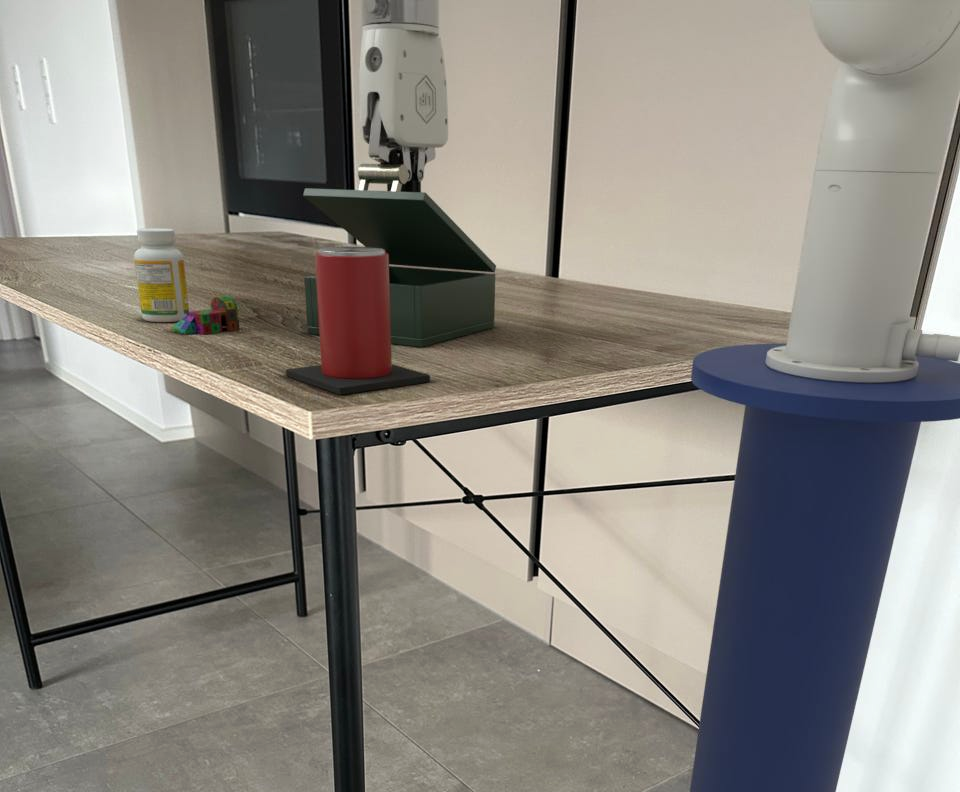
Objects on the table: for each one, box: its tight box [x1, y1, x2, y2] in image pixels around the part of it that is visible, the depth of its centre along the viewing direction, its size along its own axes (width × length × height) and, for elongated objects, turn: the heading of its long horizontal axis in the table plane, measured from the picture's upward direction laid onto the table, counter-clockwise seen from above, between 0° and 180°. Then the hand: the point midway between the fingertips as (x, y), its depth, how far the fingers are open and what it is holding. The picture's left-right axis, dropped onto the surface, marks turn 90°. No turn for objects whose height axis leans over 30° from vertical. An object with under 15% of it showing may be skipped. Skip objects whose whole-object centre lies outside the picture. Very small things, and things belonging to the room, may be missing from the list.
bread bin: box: [303, 265, 496, 348], centre depth 103 cm, size 16×15×6 cm
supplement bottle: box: [133, 227, 190, 323], centre depth 107 cm, size 5×5×10 cm
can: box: [314, 246, 393, 379], centre depth 79 cm, size 6×6×10 cm
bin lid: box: [302, 163, 497, 273], centre depth 100 cm, size 17×15×5 cm
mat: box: [285, 363, 431, 396], centre depth 81 cm, size 9×9×1 cm
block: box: [170, 295, 241, 335], centre depth 102 cm, size 6×4×3 cm
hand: (404, 222), depth 100 cm, fingers closed
